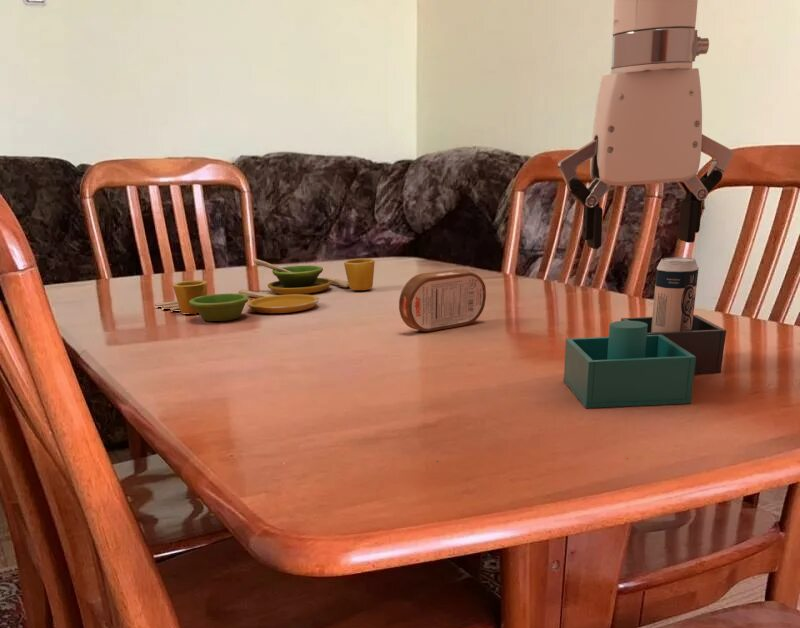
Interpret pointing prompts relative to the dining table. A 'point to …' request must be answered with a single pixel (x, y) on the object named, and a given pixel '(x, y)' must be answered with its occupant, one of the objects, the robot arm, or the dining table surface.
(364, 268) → the tableware set
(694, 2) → the robot arm
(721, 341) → the charcoal bin
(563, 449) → the dining table surface
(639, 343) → the teal peg
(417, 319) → the tin
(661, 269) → the beer can
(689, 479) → the dining table surface
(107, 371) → the dining table surface
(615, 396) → the teal bin
